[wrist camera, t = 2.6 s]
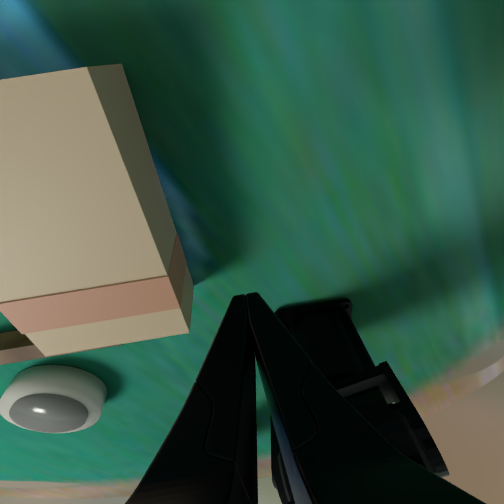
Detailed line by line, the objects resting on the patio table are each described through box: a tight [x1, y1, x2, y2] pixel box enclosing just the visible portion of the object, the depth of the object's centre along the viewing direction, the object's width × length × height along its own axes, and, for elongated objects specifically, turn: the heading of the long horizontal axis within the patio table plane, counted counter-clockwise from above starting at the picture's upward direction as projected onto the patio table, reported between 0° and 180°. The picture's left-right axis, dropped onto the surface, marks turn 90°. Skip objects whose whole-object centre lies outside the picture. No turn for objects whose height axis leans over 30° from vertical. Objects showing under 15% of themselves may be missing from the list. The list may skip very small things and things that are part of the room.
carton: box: [0, 64, 194, 357], centre depth 15 cm, size 9×14×5 cm, turn 6°
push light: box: [0, 365, 107, 433], centre depth 26 cm, size 8×8×2 cm
